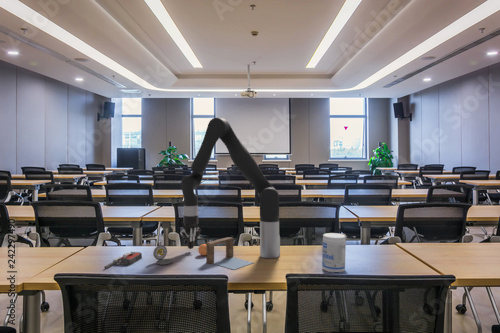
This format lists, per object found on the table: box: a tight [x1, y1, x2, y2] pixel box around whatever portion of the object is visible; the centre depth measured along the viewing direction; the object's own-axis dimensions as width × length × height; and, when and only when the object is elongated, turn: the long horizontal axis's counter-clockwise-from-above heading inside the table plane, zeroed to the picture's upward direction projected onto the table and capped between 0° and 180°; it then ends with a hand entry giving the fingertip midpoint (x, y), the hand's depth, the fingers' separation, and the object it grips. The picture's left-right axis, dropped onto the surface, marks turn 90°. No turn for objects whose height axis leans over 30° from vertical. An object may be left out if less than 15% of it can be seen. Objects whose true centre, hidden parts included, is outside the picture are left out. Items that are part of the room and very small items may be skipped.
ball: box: [197, 243, 206, 257], centre depth 165 cm, size 6×6×6 cm
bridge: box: [205, 236, 234, 265], centre depth 158 cm, size 3×14×9 cm, turn 139°
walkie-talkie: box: [104, 251, 143, 269], centre depth 153 cm, size 9×4×20 cm
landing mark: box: [213, 256, 254, 271], centre depth 152 cm, size 13×13×1 cm
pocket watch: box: [152, 239, 173, 266], centre depth 154 cm, size 8×8×10 cm
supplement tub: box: [321, 232, 347, 273], centre depth 144 cm, size 10×10×15 cm
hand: (190, 248), depth 172 cm, fingers closed
